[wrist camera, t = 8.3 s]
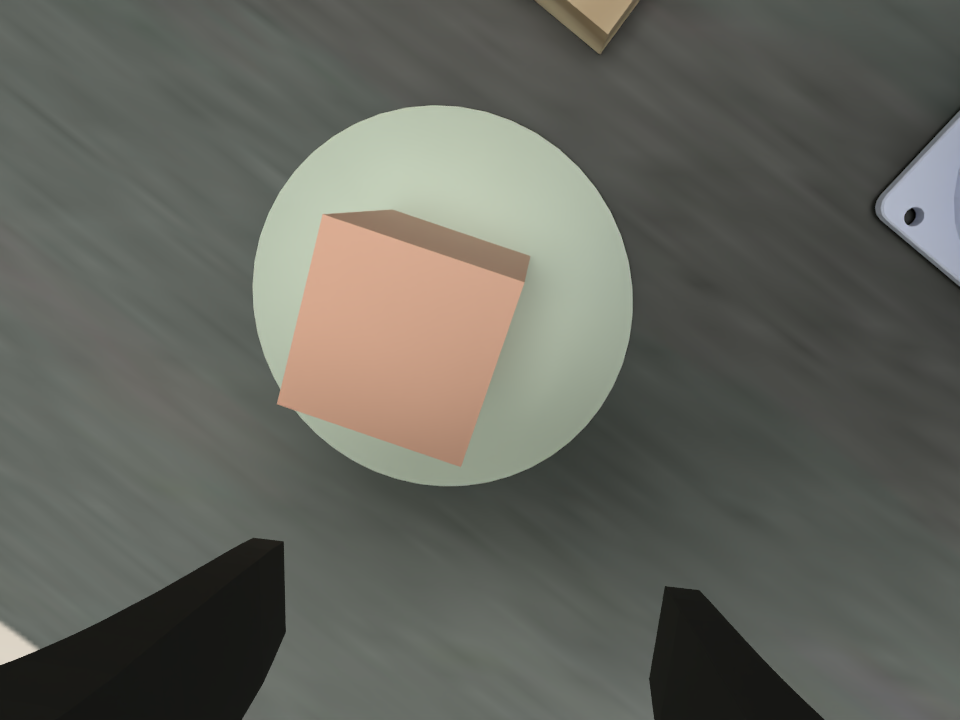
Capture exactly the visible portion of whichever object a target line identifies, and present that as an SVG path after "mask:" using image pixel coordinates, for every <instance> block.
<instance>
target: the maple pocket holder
mask: <svg viewBox="0 0 960 720" xmlns="http://www.w3.org/2000/svg"><path fill="white" fill-rule="evenodd" d="M535 1H536V2H537V3H538V4H539V5H541V6H542V7H543V8H544V9H545V10H547V11H548V12H549V13H550V14H551V15H553V16H554V17H555V18H556V19H557V20H559V21H560V22H561V23H562V24H563V25H565V26H566V27H567V28H568V29H570V30H571V31H572V32H573V33H574V34H576V35H577V36H578V37H579V38H580V39H582V40H583V41H584V42H585V43H586V44H588V45H589V46H590V47H591V48H592V49H594V50H595V51H596V52H597V53H598V54H601V53H602V51H603V50H604V48H605V47H606V46H607V44H608V43H609V42H610V40H611V39H612V38H613V36H614V35H615V34H616V32H617V31H618V29H619V28H620V27H621V25H622V24H623V23H624V21H625V20H626V19H627V17H628V16H629V15H630V13H631V12H632V10H633V9H634V8H635V6H636V5H637V4H638V2H639V1H640V0H535Z"/></svg>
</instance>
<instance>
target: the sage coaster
mask: <svg viewBox="0 0 960 720" xmlns="http://www.w3.org/2000/svg"><path fill="white" fill-rule="evenodd" d="M377 210H395V211H398V212H401V213H404V214H407V215H410V216H413V217H416V218H419V219H422V220H425V221H428V222H431V223H434V224H437V225H440V226H443V227H446V228H449V229H452V230H455V231H458V232H461V233H464V234H467V235H470V236H473V237H476V238H478V239H481V240H484V241H487V242H490V243H493V244H496V245H499V246H502V247H505V248H508V249H511V250H514V251H517V252H520V253H523V254H526V255H529V256H530V260H529V265H528V269H527V274H526V278H525V283H524V286H523V288H522V291H521V294H520V297H519V300H518V303H517V306H516V309H515V312H514V315H513V317H512V320H511V323H510V326H509V329H508V332H507V335H506V338H505V341H504V344H503V346H502V349H501V352H500V355H499V358H498V361H497V364H496V367H495V370H494V373H493V375H492V378H491V381H490V384H489V387H488V390H487V393H486V396H485V399H484V402H483V405H482V407H481V410H480V413H479V416H478V419H477V422H476V425H475V428H474V431H473V434H472V436H471V439H470V442H469V445H468V448H467V451H466V454H465V457H464V460H463V463H462V465H461V467H459V466H456V465H453V464H450V463H447V462H444V461H441V460H439V459H436V458H433V457H430V456H427V455H424V454H421V453H418V452H415V451H412V450H409V449H406V448H404V447H401V446H398V445H395V444H392V443H389V442H386V441H383V440H380V439H377V438H374V437H371V436H368V435H366V434H363V433H360V432H357V431H354V430H351V429H348V428H345V427H342V426H339V425H336V424H333V423H331V422H328V421H325V420H322V419H319V418H316V417H313V416H310V415H307V414H304V413H301V412H298V411H296V412H297V413H298V415H299V416H300V417H301V418H302V419H303V420H304V421H305V422H306V423H307V425H308V426H309V427H310V428H311V429H312V430H313V431H314V432H315V433H316V434H317V435H319V436H320V437H321V438H322V439H323V440H325V441H326V442H327V443H328V444H329V445H331V446H332V447H333V448H334V449H336V450H337V451H339V452H341V453H342V454H344V455H345V456H347V457H348V458H350V459H351V460H353V461H355V462H357V463H359V464H361V465H363V466H365V467H367V468H369V469H371V470H373V471H375V472H378V473H381V474H384V475H387V476H390V477H392V478H395V479H399V480H404V481H408V482H412V483H417V484H425V485H435V486H466V485H473V484H480V483H487V482H491V481H495V480H498V479H502V478H506V477H509V476H512V475H514V474H517V473H519V472H522V471H524V470H526V469H529V468H531V467H533V466H535V465H536V464H538V463H540V462H542V461H543V460H545V459H547V458H549V457H550V456H552V455H553V454H555V453H556V452H557V451H558V450H560V449H561V448H562V447H564V446H565V445H566V444H568V443H569V442H570V441H571V440H572V439H573V438H574V437H575V436H576V435H577V434H578V433H579V432H580V431H581V430H582V429H583V428H584V427H586V426H587V424H588V423H589V422H590V420H591V419H592V418H593V417H594V415H595V414H596V413H597V411H598V410H599V409H600V408H601V406H602V404H603V403H604V401H605V399H606V398H607V396H608V394H609V393H610V391H611V389H612V387H613V386H614V383H615V381H616V379H617V376H618V374H619V371H620V369H621V367H622V364H623V361H624V357H625V354H626V350H627V346H628V342H629V338H630V331H631V323H632V315H633V290H632V281H631V274H630V267H629V261H628V258H627V254H626V251H625V247H624V244H623V240H622V237H621V234H620V232H619V230H618V228H617V225H616V223H615V221H614V218H613V216H612V214H611V212H610V210H609V209H608V207H607V205H606V204H605V202H604V200H603V199H602V197H601V195H600V194H599V192H598V191H597V189H596V188H595V186H594V185H593V184H592V183H591V182H590V180H589V179H588V178H587V177H586V175H585V174H584V173H583V172H582V171H581V169H580V168H579V167H578V166H577V165H576V164H575V163H573V162H572V161H571V160H570V159H569V158H568V157H567V156H566V155H565V154H564V153H563V152H562V151H561V150H560V149H558V148H557V147H555V146H554V145H552V144H551V143H550V142H548V141H547V140H545V139H544V138H542V137H541V136H540V135H538V134H537V133H535V132H533V131H531V130H529V129H527V128H525V127H523V126H521V125H519V124H517V123H515V122H513V121H511V120H508V119H505V118H502V117H499V116H497V115H494V114H491V113H488V112H484V111H479V110H474V109H469V108H463V107H455V106H435V105H431V106H420V107H409V108H403V109H399V110H394V111H390V112H386V113H382V114H379V115H376V116H374V117H371V118H369V119H366V120H363V121H361V122H358V123H356V124H354V125H352V126H351V127H349V128H347V129H345V130H344V131H342V132H340V133H338V134H337V135H335V136H333V137H332V138H331V139H329V140H328V141H327V142H325V143H324V144H323V145H322V146H320V147H319V148H318V149H317V150H315V151H314V152H313V153H312V154H311V155H310V156H309V157H308V158H307V159H306V160H305V161H304V162H303V163H302V164H301V165H300V166H299V167H298V168H297V169H296V170H295V172H294V173H293V174H292V176H291V177H290V179H289V180H288V181H287V183H286V184H285V185H284V187H283V188H282V190H281V191H280V193H279V195H278V197H277V199H276V200H275V202H274V204H273V206H272V208H271V210H270V212H269V214H268V216H267V219H266V222H265V225H264V227H263V230H262V233H261V236H260V239H259V244H258V248H257V253H256V257H255V264H254V275H253V306H254V314H255V320H256V326H257V332H258V336H259V339H260V343H261V346H262V349H263V353H264V356H265V358H266V361H267V363H268V365H269V367H270V370H271V372H272V374H273V377H274V379H275V380H276V382H277V384H278V385H279V387H280V389H281V386H282V381H283V377H284V373H285V369H286V365H287V360H288V356H289V352H290V348H291V344H292V340H293V335H294V331H295V327H296V323H297V319H298V315H299V310H300V306H301V302H302V298H303V294H304V289H305V285H306V281H307V277H308V273H309V269H310V264H311V260H312V256H313V252H314V248H315V244H316V239H317V235H318V231H319V227H320V223H321V218H322V214H332V213H347V212H362V211H377Z"/></svg>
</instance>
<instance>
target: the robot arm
mask: <svg viewBox="0 0 960 720" xmlns="http://www.w3.org/2000/svg"><path fill="white" fill-rule="evenodd" d="M910 208H913V209H914V210H915V212H916V218H915V220H914V221H913V222H912V223H911V224H909V225H907V224H906V223H905V221H904V215H905V213H906V212H907V210H909V209H910ZM875 210H876V215H877V216H878V217H879V219H880V220H881V221H882V222H884V223H885V224H886V225H887V226H888V227H889V228H891V229H892V230H893V231H894V232H895V233H897V234H898V235H899V236H900V237H901V238H903V239H904V240H905V241H906V242H907V243H908V244H910V245H911V246H912V247H913V248H914V249H916V250H917V251H918V252H919V253H920V254H922V255H923V256H924V257H925V258H926V259H927V260H929V261H930V262H931V263H932V264H933V265H935V266H936V267H937V268H938V269H939V270H941V271H942V272H943V273H944V274H945V275H946V276H948V277H949V278H950V279H951V280H952V281H954V282H955V283H956V284H957V285H958V286H960V111H959V112H958V113H957V114H956V115H955V116H954V117H953V118H952V119H951V120H950V121H949V123H948V124H947V125H946V126H945V127H944V128H943V129H942V130H941V131H940V132H939V133H938V134H937V135H936V136H935V137H934V138H933V140H932V141H931V142H930V143H929V144H928V145H927V146H926V147H925V148H924V149H923V150H922V151H921V152H920V153H919V154H918V155H917V157H916V158H915V159H914V160H913V161H912V162H911V163H910V164H909V165H908V166H907V167H906V168H905V169H904V170H903V171H902V172H901V174H900V175H899V176H898V177H897V178H896V179H895V180H894V181H893V182H892V183H891V184H890V185H889V186H888V187H887V188H886V189H885V191H884V192H883V193H882V194H881V195H880V197H879V198H878V200H877V202H876V206H875ZM285 632H286V624H285V581H284V541H275V540H267V539H258V538H252V539H250V540H248V541H246V542H244V543H242V544H240V545H238V546H237V547H235V548H233V549H231V550H229V551H228V552H226V553H224V554H222V555H221V556H219V557H217V558H215V559H214V560H212V561H210V562H209V563H207V564H205V565H203V566H202V567H200V568H198V569H197V570H195V571H193V572H191V573H190V574H188V575H186V576H184V577H183V578H181V579H179V580H177V581H176V582H174V583H172V584H170V585H169V586H167V587H165V588H163V589H162V590H160V591H158V592H156V593H154V594H152V595H151V596H149V597H147V598H145V599H143V600H141V601H139V602H137V603H135V604H133V605H131V606H130V607H128V608H126V609H124V610H122V611H120V612H118V613H116V614H114V615H112V616H110V617H109V618H107V619H105V620H103V621H101V622H99V623H97V624H95V625H93V626H91V627H89V628H87V629H84V630H82V631H80V632H78V633H76V634H74V635H72V636H69V637H67V638H65V639H63V640H60V641H58V642H56V643H54V644H51V645H49V646H47V647H44V648H42V649H40V650H38V651H35V652H33V653H31V654H28V655H26V656H23V657H21V658H18V659H16V660H13V661H11V662H8V663H5V664H3V665H0V720H242V718H243V717H244V715H245V713H246V712H247V710H248V708H249V706H250V705H251V703H252V701H253V700H254V698H255V696H256V695H257V693H258V691H259V689H260V688H261V686H262V684H263V682H264V680H265V678H266V676H267V673H268V671H269V669H270V667H271V665H272V663H273V660H274V658H275V656H276V653H277V651H278V649H279V646H280V644H281V642H282V639H283V637H284V635H285ZM649 681H650V689H651V697H652V705H653V712H654V719H655V720H824V719H823V718H822V717H821V716H820V715H819V714H818V713H817V712H816V711H815V710H814V709H813V708H812V707H810V706H809V705H808V704H807V703H806V702H805V701H804V700H803V699H802V698H801V697H800V696H799V695H798V694H797V693H796V692H795V691H794V690H793V689H792V688H791V687H790V686H789V685H788V684H787V683H786V682H785V681H784V680H783V679H782V678H781V677H780V676H779V675H778V674H777V673H776V672H775V671H774V670H773V669H772V668H771V667H770V666H769V665H768V664H767V663H766V662H765V661H764V660H763V659H762V658H761V657H760V656H759V655H758V654H757V652H756V651H755V650H754V649H753V648H752V647H751V646H750V645H749V644H748V643H747V642H746V641H745V640H744V638H743V637H742V636H741V635H740V634H739V633H738V632H737V631H736V630H735V629H734V628H733V626H732V625H731V624H730V623H729V622H728V621H727V620H726V619H725V618H724V616H723V615H722V614H721V613H720V612H719V611H718V610H717V609H716V608H715V607H714V605H713V604H712V603H711V602H710V601H709V600H708V599H707V598H706V597H705V596H704V595H703V594H702V593H701V592H700V591H699V590H692V589H684V588H675V587H667V586H665V590H664V595H663V601H662V607H661V613H660V619H659V625H658V631H657V637H656V643H655V648H654V654H653V660H652V666H651V672H650V678H649Z"/></svg>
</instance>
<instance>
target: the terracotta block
mask: <svg viewBox="0 0 960 720" xmlns="http://www.w3.org/2000/svg"><path fill="white" fill-rule="evenodd" d="M529 260H530V256H529V255H526V254H523V253H520V252H517V251H514V250H511V249H508V248H505V247H502V246H499V245H496V244H493V243H490V242H487V241H484V240H481V239H478V238H476V237H473V236H470V235H467V234H464V233H461V232H458V231H455V230H452V229H449V228H446V227H443V226H440V225H437V224H434V223H431V222H428V221H425V220H422V219H419V218H416V217H413V216H410V215H407V214H404V213H401V212H398V211H395V210H377V211H362V212H347V213H332V214H322V218H321V223H320V227H319V231H318V235H317V239H316V244H315V248H314V252H313V256H312V260H311V264H310V269H309V273H308V277H307V281H306V285H305V289H304V294H303V298H302V302H301V306H300V310H299V315H298V319H297V323H296V327H295V331H294V335H293V340H292V344H291V348H290V352H289V356H288V360H287V365H286V369H285V373H284V377H283V381H282V386H281V390H280V394H279V398H278V402H277V404H278V405H281V406H284V407H287V408H290V409H293V410H295V411H298V412H301V413H304V414H307V415H310V416H313V417H316V418H319V419H322V420H325V421H328V422H331V423H333V424H336V425H339V426H342V427H345V428H348V429H351V430H354V431H357V432H360V433H363V434H366V435H368V436H371V437H374V438H377V439H380V440H383V441H386V442H389V443H392V444H395V445H398V446H401V447H404V448H406V449H409V450H412V451H415V452H418V453H421V454H424V455H427V456H430V457H433V458H436V459H439V460H441V461H444V462H447V463H450V464H453V465H456V466H459V467H461V465H462V463H463V460H464V457H465V454H466V451H467V448H468V445H469V442H470V439H471V436H472V434H473V431H474V428H475V425H476V422H477V419H478V416H479V413H480V410H481V407H482V405H483V402H484V399H485V396H486V393H487V390H488V387H489V384H490V381H491V378H492V375H493V373H494V370H495V367H496V364H497V361H498V358H499V355H500V352H501V349H502V346H503V344H504V341H505V338H506V335H507V332H508V329H509V326H510V323H511V320H512V317H513V315H514V312H515V309H516V306H517V303H518V300H519V297H520V294H521V291H522V288H523V286H524V283H525V278H526V274H527V269H528V265H529Z"/></svg>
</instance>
